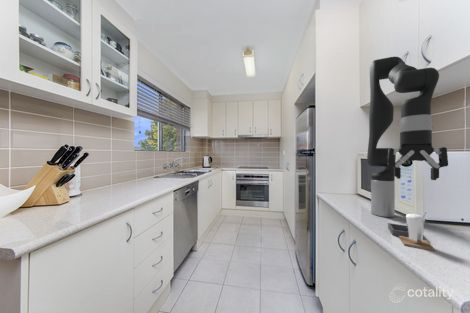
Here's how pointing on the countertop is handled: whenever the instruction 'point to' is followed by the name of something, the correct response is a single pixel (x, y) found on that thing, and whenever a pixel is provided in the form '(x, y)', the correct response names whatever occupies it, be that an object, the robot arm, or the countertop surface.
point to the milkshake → (415, 227)
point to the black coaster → (398, 230)
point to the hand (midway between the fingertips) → (415, 179)
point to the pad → (423, 246)
